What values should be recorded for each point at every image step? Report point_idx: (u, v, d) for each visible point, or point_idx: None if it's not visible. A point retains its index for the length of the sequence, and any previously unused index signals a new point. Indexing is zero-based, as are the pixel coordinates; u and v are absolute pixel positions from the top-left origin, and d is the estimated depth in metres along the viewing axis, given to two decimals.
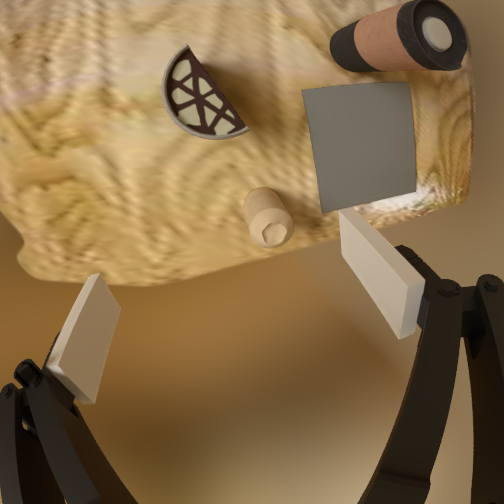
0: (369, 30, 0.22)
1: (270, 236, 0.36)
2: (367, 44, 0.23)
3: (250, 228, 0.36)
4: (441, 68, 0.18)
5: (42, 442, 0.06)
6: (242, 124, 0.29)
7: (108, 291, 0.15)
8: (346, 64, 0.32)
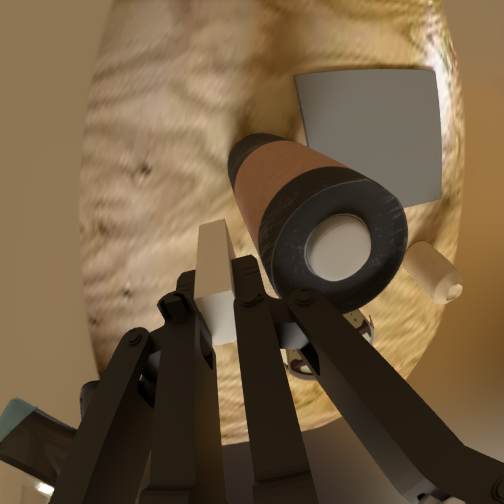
0: None
1: (453, 292, 0.32)
2: None
3: None
4: None
5: (158, 390, 0.07)
6: (366, 327, 0.32)
7: None
8: None
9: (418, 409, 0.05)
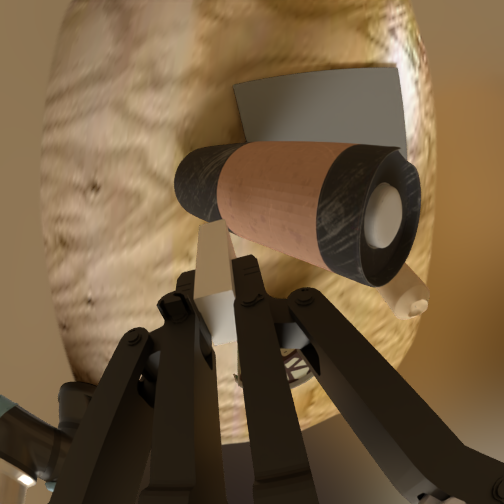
0: None
1: (418, 307, 0.32)
2: None
3: (405, 318, 0.33)
4: (416, 209, 0.16)
5: (158, 390, 0.07)
6: None
7: None
8: None
9: (419, 409, 0.05)
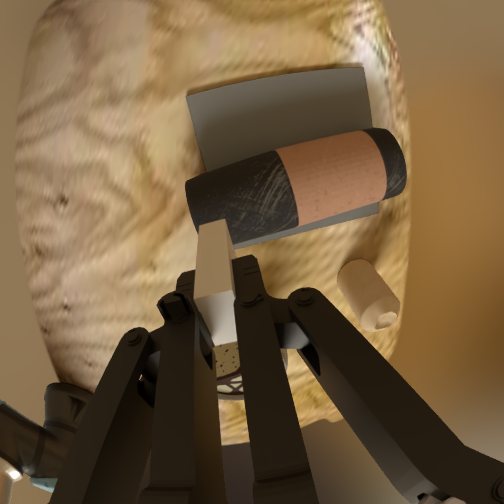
0: None
1: (387, 319, 0.32)
2: None
3: None
4: None
5: (157, 390, 0.07)
6: None
7: None
8: None
9: (419, 409, 0.05)
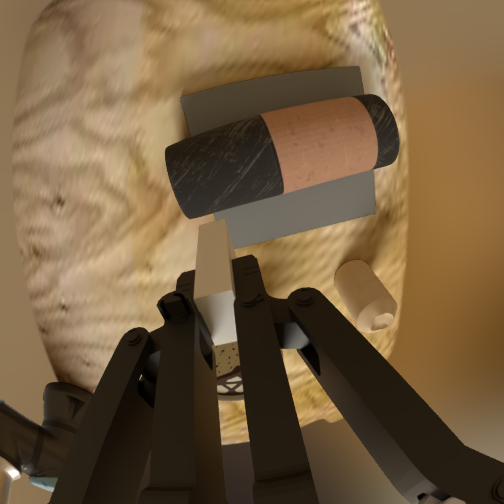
0: (324, 181, 0.25)
1: (383, 320, 0.32)
2: None
3: None
4: None
5: (158, 390, 0.07)
6: None
7: None
8: None
9: (419, 408, 0.05)
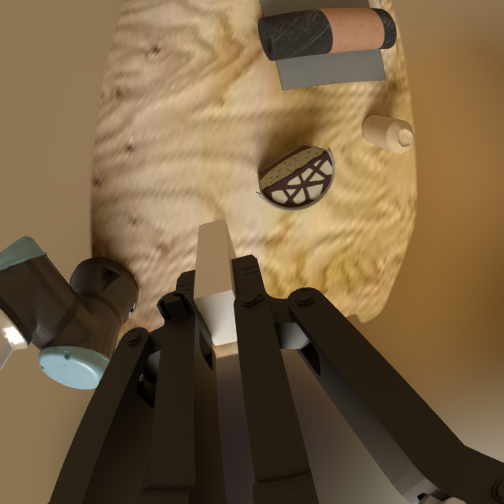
0: (350, 50, 0.34)
1: (406, 140, 0.38)
2: None
3: (397, 153, 0.40)
4: None
5: (158, 390, 0.07)
6: (325, 154, 0.38)
7: None
8: None
9: (419, 409, 0.05)
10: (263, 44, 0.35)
